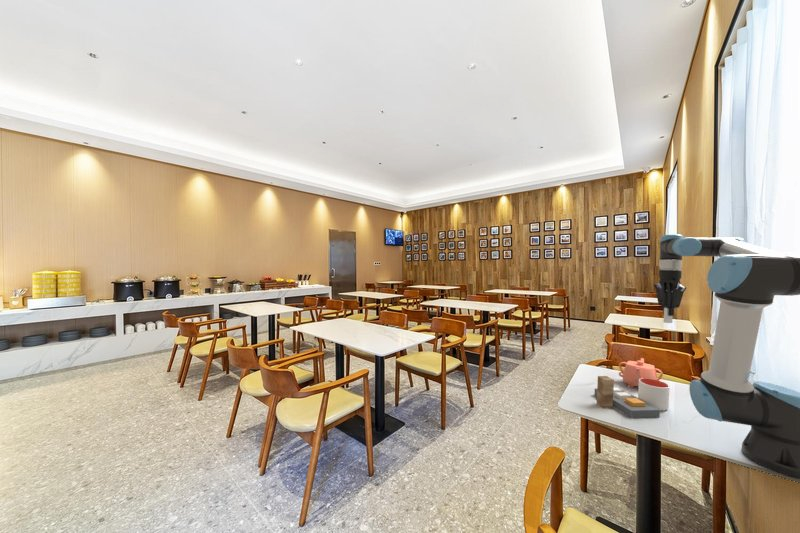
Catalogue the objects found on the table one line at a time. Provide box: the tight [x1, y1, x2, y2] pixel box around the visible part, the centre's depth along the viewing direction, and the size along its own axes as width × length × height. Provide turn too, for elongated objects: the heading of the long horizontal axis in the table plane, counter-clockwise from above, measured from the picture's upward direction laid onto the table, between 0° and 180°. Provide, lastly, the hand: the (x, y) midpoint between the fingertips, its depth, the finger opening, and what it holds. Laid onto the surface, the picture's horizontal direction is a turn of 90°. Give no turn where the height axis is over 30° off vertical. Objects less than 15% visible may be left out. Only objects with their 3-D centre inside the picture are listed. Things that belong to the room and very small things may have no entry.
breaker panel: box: [594, 386, 661, 419], centre depth 129 cm, size 20×12×4 cm, turn 5°
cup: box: [637, 378, 670, 412], centre depth 129 cm, size 10×10×10 cm
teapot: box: [618, 357, 664, 388], centre depth 149 cm, size 15×17×13 cm
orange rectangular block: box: [625, 397, 645, 407], centre depth 124 cm, size 4×5×3 cm
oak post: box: [596, 375, 615, 409], centre depth 128 cm, size 4×4×12 cm
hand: (667, 322), depth 135 cm, fingers closed
